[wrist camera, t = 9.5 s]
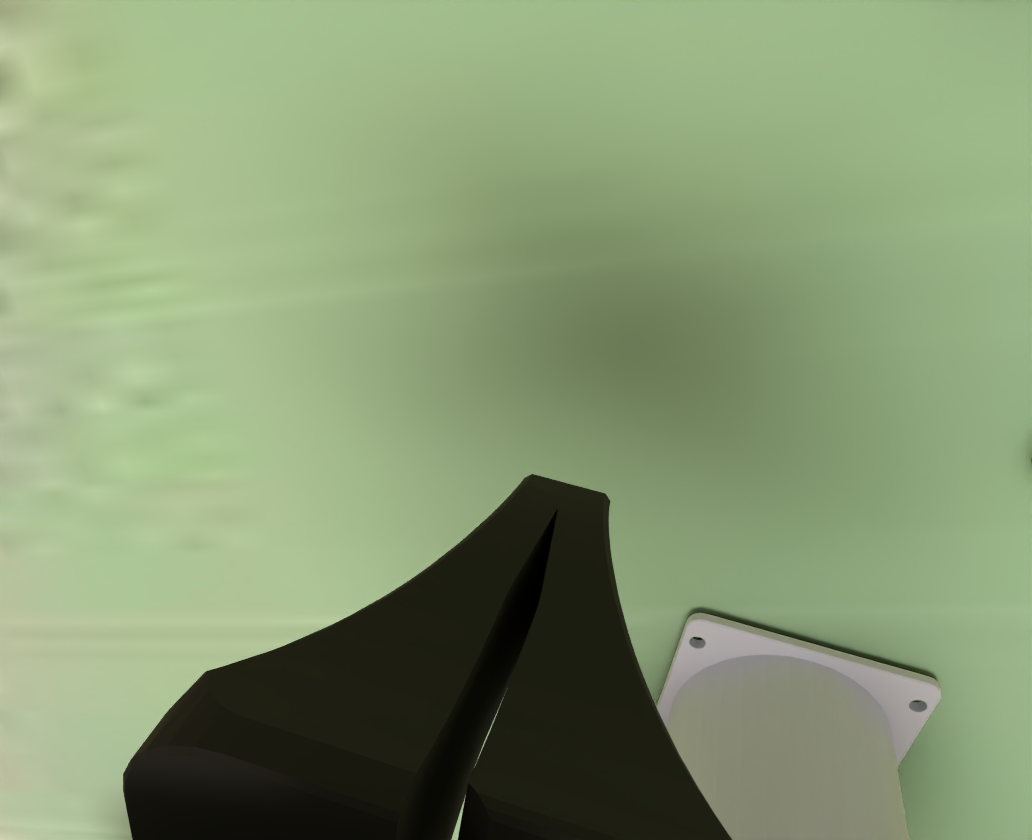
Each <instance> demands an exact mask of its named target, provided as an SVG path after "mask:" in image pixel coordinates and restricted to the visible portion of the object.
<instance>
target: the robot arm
mask: <svg viewBox="0 0 1032 840" xmlns="http://www.w3.org/2000/svg"><path fill="white" fill-rule="evenodd" d="M609 505H610V500H609V498H608V497H607V495H606V494H605V493H601V492H597V491H594V490H590V489H586V488H582V487H579V486H575V485H571V484H567V483H564V482H560V481H556V480H552V479H549V478H545V477H541V476H537V475H533V474H532V475H530V476H528V477H526V478H524V479H523V481H522V482H521V483H520V484H519V486H518V487H517V488H516V489H515V490H514V491H513V493H512V494H511V495H510V496H509V497H508V498H507V499H506V500H505V501H504V502H503V503H502V504H501V505H500V506H499V507H498V508H497V509H496V510H495V511H494V512H493V513H492V514H491V515H490V516H489V517H488V518H487V519H486V520H485V521H483V522H482V523H481V524H480V525H479V526H478V527H477V528H476V529H475V530H473V531H472V532H471V533H470V534H469V535H468V536H467V537H466V538H465V539H463V540H462V541H461V542H460V543H459V544H457V545H456V546H455V547H454V548H452V549H451V550H450V551H448V552H447V553H446V554H445V555H443V556H442V557H441V558H439V559H438V560H437V561H436V562H434V563H433V564H432V565H430V566H429V567H428V568H426V569H425V570H424V571H422V572H421V573H419V574H418V575H417V576H415V577H414V578H412V579H411V580H409V581H408V582H406V583H405V584H403V585H402V586H400V587H398V588H397V589H395V590H394V591H392V592H391V593H389V594H387V595H386V596H384V597H382V598H381V599H379V600H377V601H375V602H374V603H372V604H370V605H368V606H366V607H365V608H363V609H361V610H359V611H358V612H356V613H354V614H352V615H350V616H348V617H346V618H344V619H342V620H340V621H339V622H336V623H334V624H332V625H330V626H328V627H326V628H324V629H321V630H319V631H317V632H314V633H312V634H310V635H308V636H305V637H303V638H301V639H298V640H296V641H294V642H292V643H289V644H287V645H285V646H282V647H280V648H277V649H274V650H272V651H269V652H266V653H263V654H260V655H257V656H254V657H251V658H248V659H245V660H241V661H238V662H235V663H232V664H229V665H226V666H223V667H220V668H216V669H213V670H209V671H206V672H205V673H204V674H203V675H202V676H201V677H200V678H199V679H198V680H197V681H196V682H195V683H194V684H193V685H192V686H191V687H190V688H189V690H188V691H187V692H186V693H185V694H183V696H182V697H181V698H180V699H179V700H178V701H177V702H176V703H175V704H174V705H173V706H172V707H171V708H170V709H169V711H168V712H167V713H166V714H165V715H164V717H163V718H162V719H161V721H160V722H159V723H158V725H157V726H156V727H155V729H154V730H153V731H152V733H151V734H150V735H149V737H148V738H147V739H146V740H145V742H144V743H143V744H142V746H141V747H140V748H139V750H138V751H137V752H136V754H135V755H134V756H133V758H132V759H131V760H130V762H129V764H128V766H127V768H126V770H125V772H124V774H123V792H124V797H125V802H126V808H127V813H128V818H129V823H130V828H131V833H132V838H133V840H451V839H452V835H453V832H454V829H455V826H456V823H457V820H458V817H459V813H460V810H461V807H462V804H463V801H464V798H465V803H464V808H463V814H462V820H461V825H460V831H459V837H458V840H909V835H908V828H907V822H906V816H905V810H904V804H903V797H902V791H901V785H900V779H899V773H898V766H899V764H900V763H901V761H902V760H903V758H904V756H905V755H906V753H907V752H908V750H909V748H910V747H911V745H912V744H913V742H914V741H915V739H916V737H917V736H918V734H919V733H920V731H921V729H922V728H923V726H924V725H925V723H926V721H927V720H928V718H929V717H930V715H931V714H932V712H933V710H934V709H935V707H936V706H937V704H938V702H939V701H940V699H941V696H942V693H941V689H940V685H939V683H938V682H937V681H936V680H935V679H934V678H931V677H929V676H926V675H922V674H918V673H915V672H911V671H908V670H904V669H901V668H897V667H894V666H890V665H887V664H883V663H879V662H876V661H872V660H869V659H865V658H862V657H858V656H855V655H851V654H848V653H844V652H840V651H837V650H833V649H830V648H826V647H823V646H819V645H816V644H812V643H809V642H805V641H801V640H798V639H794V638H791V637H787V636H784V635H780V634H777V633H773V632H769V631H766V630H762V629H759V628H755V627H752V626H748V625H745V624H741V623H738V622H734V621H730V620H727V619H723V618H720V617H716V616H713V615H709V614H705V613H696V614H693V615H691V616H689V618H688V619H687V621H686V624H685V627H684V630H683V633H682V635H681V638H680V641H679V644H678V647H677V650H676V653H675V655H674V658H673V661H672V664H671V667H670V670H669V672H668V675H667V678H666V681H665V684H664V687H663V689H662V692H661V695H660V698H659V701H658V704H657V706H655V704H654V701H653V699H652V697H651V694H650V692H649V689H648V687H647V684H646V682H645V680H644V677H643V675H642V672H641V669H640V666H639V664H638V661H637V658H636V655H635V652H634V649H633V646H632V643H631V640H630V637H629V634H628V630H627V627H626V623H625V619H624V616H623V612H622V608H621V604H620V600H619V595H618V591H617V586H616V580H615V575H614V570H613V564H612V558H611V550H610V540H609ZM692 637H701V638H702V640H696V639H694V638H692ZM507 687H508V688H507ZM505 692H506V693H505ZM504 694H505V695H504ZM503 697H504V698H503ZM502 699H503V701H502ZM914 700H921V702H912V701H914ZM501 701H502V703H501ZM500 704H501V706H500ZM499 706H500V708H499ZM498 708H499V711H498ZM497 711H498V713H497ZM496 713H497V716H496V718H495V715H496ZM494 718H495V721H494V723H493V726H492V728H491V730H490V733H489V735H488V737H487V740H486V742H485V744H484V747H483V749H482V752H481V754H480V751H481V748H482V746H483V743H484V741H485V738H486V736H487V734H488V731H489V729H490V727H491V724H492V722H493V720H494ZM479 754H480V756H479ZM478 756H479V759H478ZM477 759H478V761H477ZM476 762H477V763H476ZM475 764H476V766H475ZM474 767H475V768H474ZM465 795H466V797H465Z"/></svg>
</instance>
